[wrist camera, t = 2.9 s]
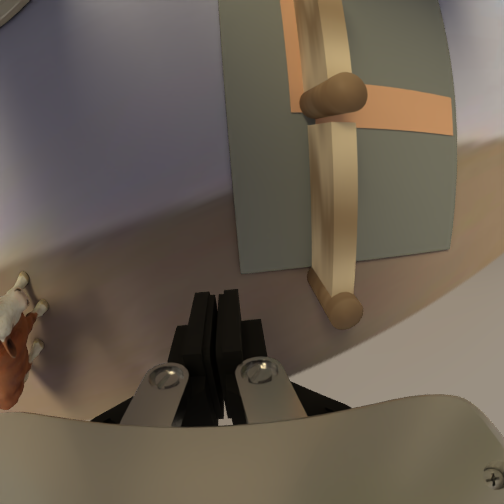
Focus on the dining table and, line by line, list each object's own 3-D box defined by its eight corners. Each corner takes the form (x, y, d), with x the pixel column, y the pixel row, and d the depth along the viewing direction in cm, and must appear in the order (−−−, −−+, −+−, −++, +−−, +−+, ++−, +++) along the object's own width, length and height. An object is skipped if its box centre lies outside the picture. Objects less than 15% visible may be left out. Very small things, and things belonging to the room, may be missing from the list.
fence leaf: (302, 125, 16) (330, 120, 11) (332, 125, 16) (369, 122, 11) (307, 289, 19) (329, 332, 15) (333, 286, 20) (361, 326, 15)
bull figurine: (77, 262, 18) (14, 328, 11) (40, 372, 21) (5, 435, 14) (30, 229, 17) (-44, 278, 9) (4, 347, 20) (-36, 402, 13)
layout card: (216, -32, 12) (216, -35, 12) (435, -2, 13) (437, -3, 13) (240, 272, 19) (241, 274, 19) (447, 247, 20) (450, 249, 20)
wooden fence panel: (283, -34, 12) (301, -78, 7) (311, -32, 12) (336, -72, 7) (299, 119, 16) (330, 111, 11) (329, 119, 16) (369, 113, 11)
